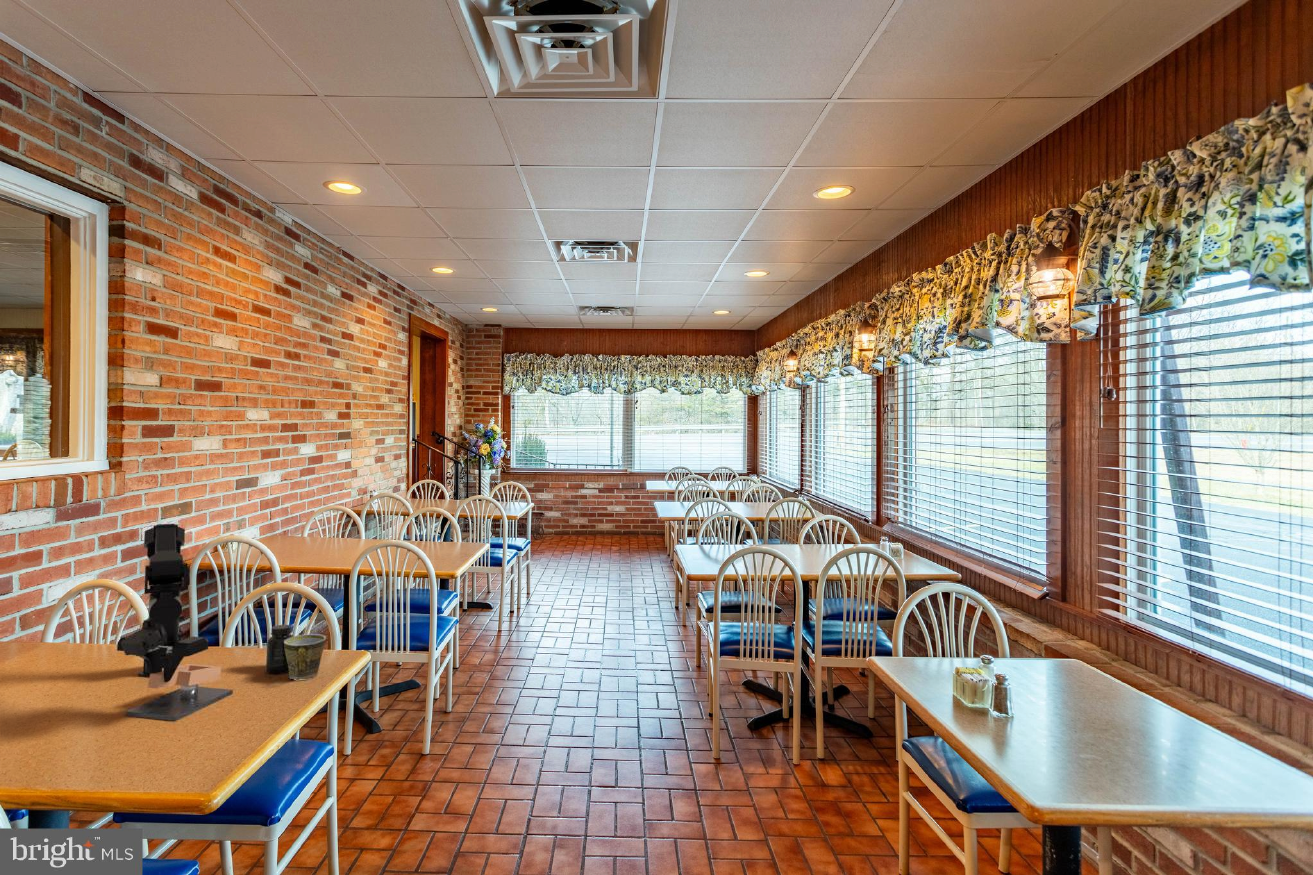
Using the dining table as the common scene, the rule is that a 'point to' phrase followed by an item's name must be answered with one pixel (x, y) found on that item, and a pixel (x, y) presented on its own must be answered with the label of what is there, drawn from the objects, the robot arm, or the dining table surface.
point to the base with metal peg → (179, 703)
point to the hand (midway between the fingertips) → (161, 681)
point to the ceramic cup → (304, 655)
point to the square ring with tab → (186, 676)
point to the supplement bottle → (277, 649)
